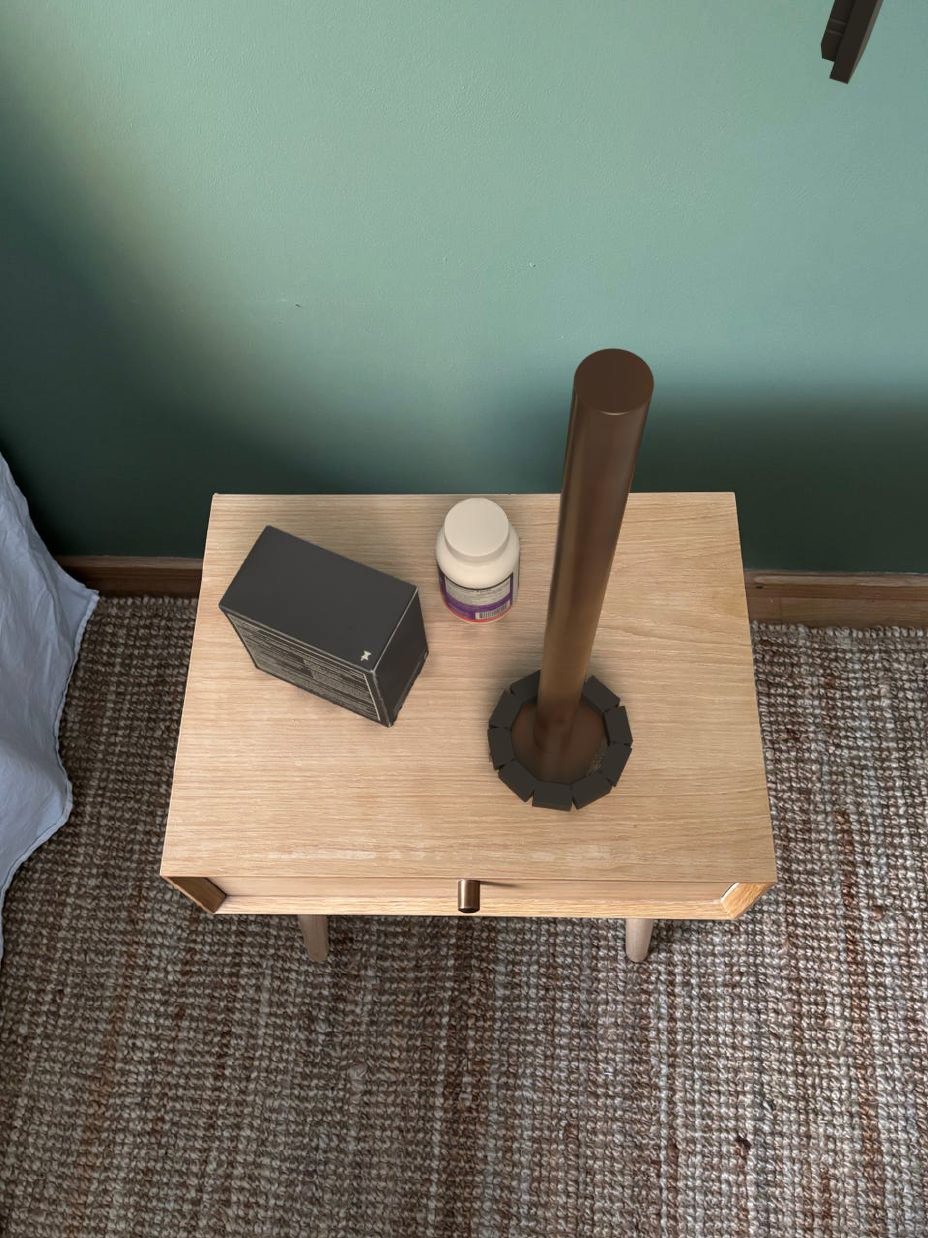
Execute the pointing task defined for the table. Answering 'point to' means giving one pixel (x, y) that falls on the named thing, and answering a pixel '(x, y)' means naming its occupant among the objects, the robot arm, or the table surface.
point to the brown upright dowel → (584, 560)
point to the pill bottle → (478, 561)
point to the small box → (328, 624)
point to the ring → (552, 792)
